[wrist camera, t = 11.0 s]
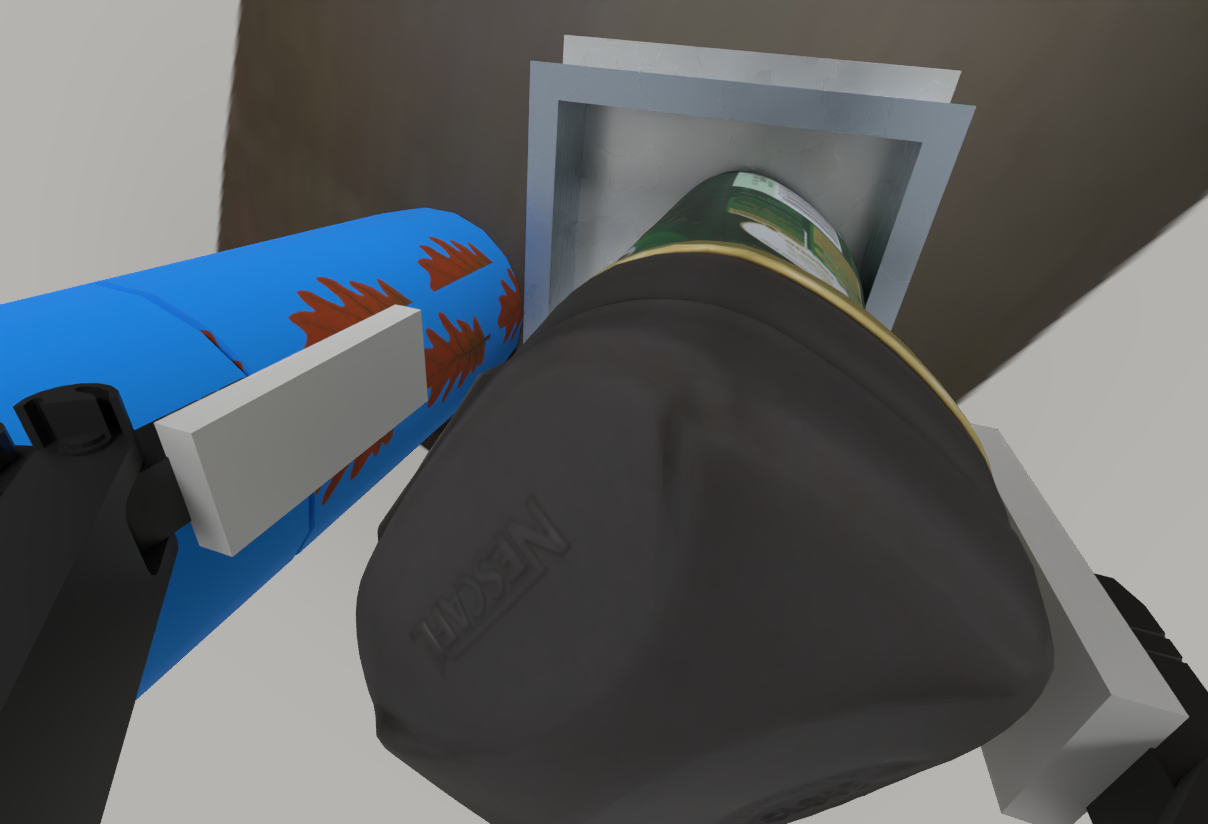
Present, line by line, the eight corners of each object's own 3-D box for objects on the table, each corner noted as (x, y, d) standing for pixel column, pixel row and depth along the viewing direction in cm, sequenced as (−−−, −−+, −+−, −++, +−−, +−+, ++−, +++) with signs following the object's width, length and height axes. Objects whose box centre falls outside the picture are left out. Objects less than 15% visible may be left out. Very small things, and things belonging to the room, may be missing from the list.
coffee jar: (718, 437, 25) (627, 988, 9) (581, 327, 24) (220, 715, 8) (897, 270, 20) (1390, 846, 4) (730, 127, 19) (540, 145, 3)
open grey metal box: (920, 81, 22) (992, 62, 14) (802, 437, 30) (809, 544, 23) (609, 52, 25) (531, 22, 17) (580, 388, 33) (519, 469, 25)
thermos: (371, 360, 36) (-200, 696, 15) (353, 189, 31) (-560, 343, 10) (522, 398, 34) (108, 846, 13) (531, 223, 29) (-134, 505, 8)
